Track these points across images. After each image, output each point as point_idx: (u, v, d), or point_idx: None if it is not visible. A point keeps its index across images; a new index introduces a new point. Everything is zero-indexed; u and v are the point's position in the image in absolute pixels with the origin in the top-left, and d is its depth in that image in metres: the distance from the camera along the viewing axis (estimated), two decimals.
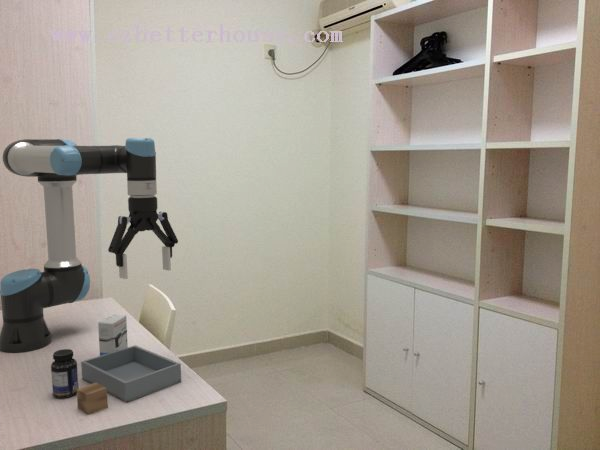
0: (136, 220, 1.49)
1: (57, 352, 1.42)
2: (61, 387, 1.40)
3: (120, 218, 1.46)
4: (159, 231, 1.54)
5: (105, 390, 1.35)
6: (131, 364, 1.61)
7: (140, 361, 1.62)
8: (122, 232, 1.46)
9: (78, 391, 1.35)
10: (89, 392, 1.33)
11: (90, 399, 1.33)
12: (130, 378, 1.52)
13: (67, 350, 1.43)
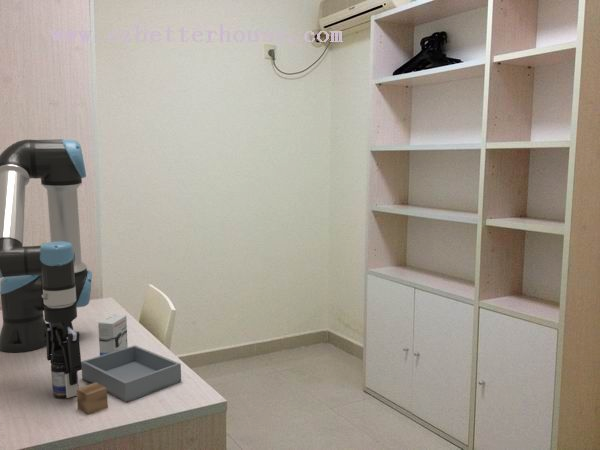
0: (52, 326, 1.42)
1: (57, 352, 1.42)
2: (61, 387, 1.40)
3: None
4: (62, 348, 1.39)
5: (105, 390, 1.35)
6: (131, 364, 1.61)
7: (140, 361, 1.62)
8: (47, 339, 1.45)
9: (78, 391, 1.35)
10: (89, 392, 1.33)
11: (90, 399, 1.33)
12: (130, 378, 1.52)
13: None
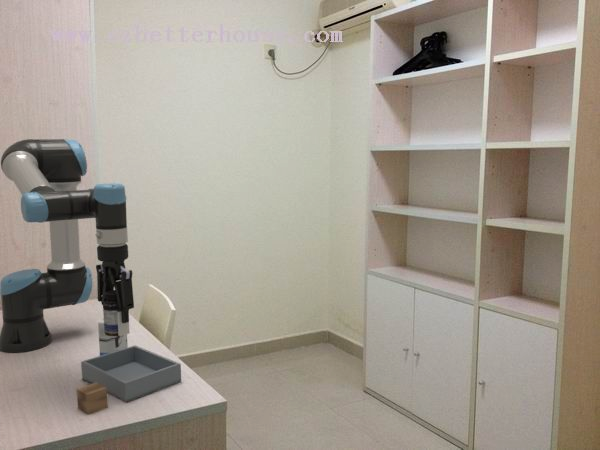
0: (104, 266, 1.46)
1: (109, 292, 1.46)
2: (114, 325, 1.44)
3: None
4: (115, 287, 1.43)
5: (105, 390, 1.35)
6: (131, 364, 1.61)
7: (140, 361, 1.62)
8: (98, 280, 1.48)
9: (78, 391, 1.35)
10: (89, 392, 1.33)
11: (90, 399, 1.33)
12: (130, 378, 1.52)
13: None
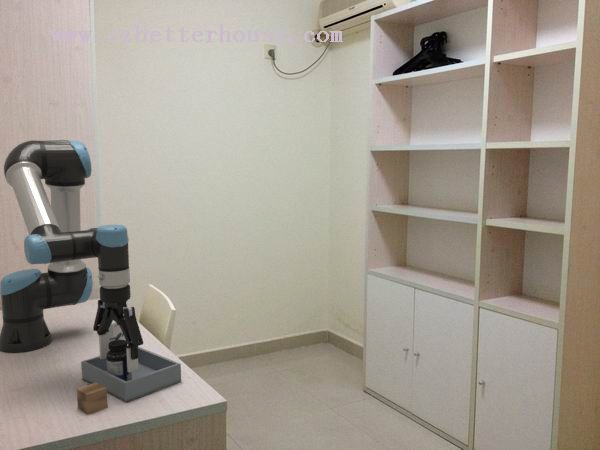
0: (106, 307, 1.47)
1: (112, 342, 1.48)
2: (117, 376, 1.46)
3: None
4: (121, 326, 1.43)
5: (105, 390, 1.35)
6: None
7: (140, 361, 1.62)
8: (97, 314, 1.50)
9: (78, 391, 1.35)
10: (89, 392, 1.33)
11: (90, 399, 1.33)
12: None
13: (121, 340, 1.49)
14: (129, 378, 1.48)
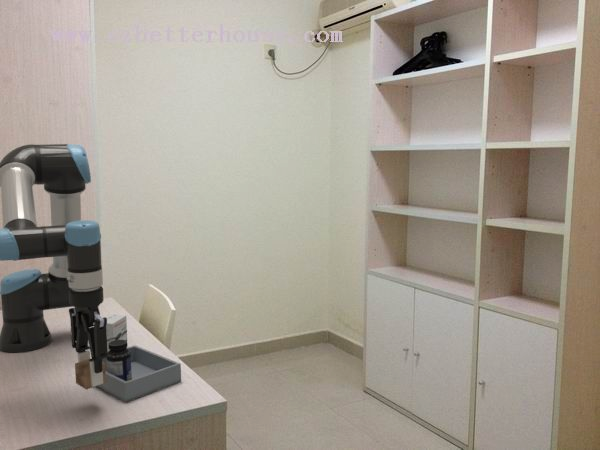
0: (77, 310, 1.34)
1: (112, 342, 1.48)
2: (117, 376, 1.46)
3: None
4: (88, 334, 1.31)
5: (103, 365, 1.35)
6: (131, 364, 1.61)
7: (140, 361, 1.62)
8: (72, 325, 1.36)
9: (76, 366, 1.34)
10: (87, 367, 1.33)
11: (88, 374, 1.32)
12: None
13: (121, 340, 1.49)
14: (129, 378, 1.48)
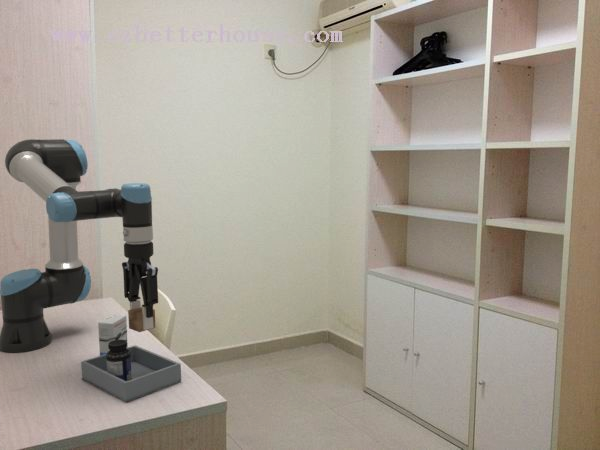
0: (130, 263, 1.51)
1: (112, 342, 1.48)
2: (117, 376, 1.46)
3: None
4: (141, 283, 1.49)
5: (153, 311, 1.52)
6: (131, 364, 1.61)
7: (140, 361, 1.62)
8: (124, 277, 1.54)
9: (129, 312, 1.51)
10: (140, 312, 1.50)
11: (141, 318, 1.49)
12: None
13: (121, 340, 1.49)
14: (129, 378, 1.48)
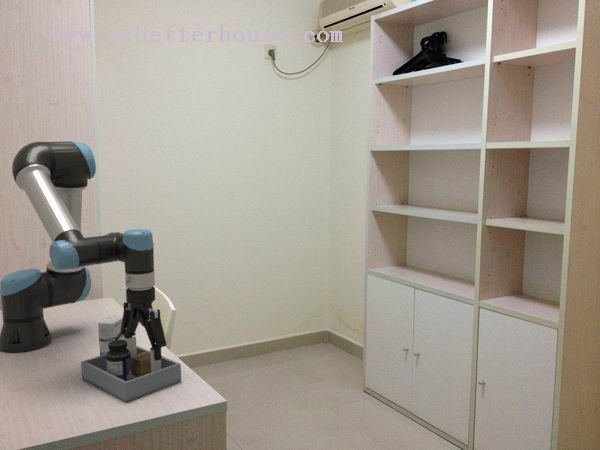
0: (132, 308, 1.53)
1: (112, 342, 1.48)
2: (117, 376, 1.46)
3: None
4: (145, 327, 1.49)
5: None
6: None
7: None
8: (124, 316, 1.56)
9: (131, 358, 1.53)
10: (142, 359, 1.52)
11: (143, 365, 1.51)
12: None
13: (121, 341, 1.49)
14: (129, 378, 1.48)
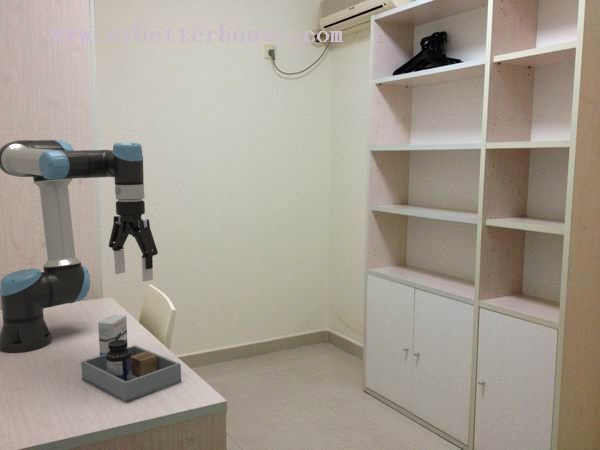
0: (121, 222, 1.55)
1: (112, 342, 1.48)
2: (117, 376, 1.46)
3: None
4: (136, 238, 1.51)
5: (155, 358, 1.54)
6: None
7: None
8: (113, 230, 1.58)
9: (131, 358, 1.53)
10: (142, 359, 1.52)
11: (143, 365, 1.51)
12: None
13: (121, 341, 1.49)
14: (129, 378, 1.48)
